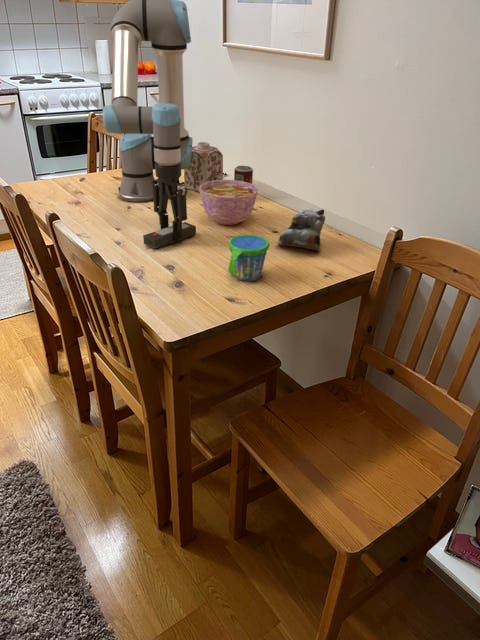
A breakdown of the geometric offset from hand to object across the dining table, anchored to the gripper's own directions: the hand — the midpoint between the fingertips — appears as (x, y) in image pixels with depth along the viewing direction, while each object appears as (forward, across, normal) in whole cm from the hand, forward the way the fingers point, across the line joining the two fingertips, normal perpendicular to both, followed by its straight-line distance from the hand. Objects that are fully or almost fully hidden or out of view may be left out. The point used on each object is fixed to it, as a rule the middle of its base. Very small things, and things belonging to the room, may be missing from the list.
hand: (171, 237), depth 152 cm
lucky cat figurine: (+1, -31, -26) cm, 40 cm away
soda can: (+1, +13, -48) cm, 50 cm away
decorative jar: (+1, +33, -46) cm, 57 cm away
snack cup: (+1, -33, +1) cm, 33 cm away
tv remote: (0, 0, 0) cm, 0 cm away
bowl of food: (+1, 0, -26) cm, 26 cm away
